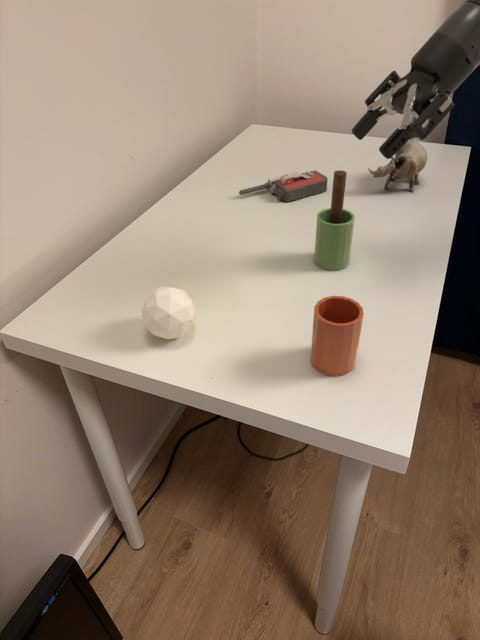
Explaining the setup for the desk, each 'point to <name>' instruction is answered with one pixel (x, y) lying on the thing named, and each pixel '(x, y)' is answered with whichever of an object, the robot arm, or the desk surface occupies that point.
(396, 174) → the rhinoceros figurine
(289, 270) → the desk surface
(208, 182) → the desk surface
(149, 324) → the geometric ball
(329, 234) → the green cup
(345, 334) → the terracotta cup
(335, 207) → the muddler
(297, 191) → the walkie-talkie
